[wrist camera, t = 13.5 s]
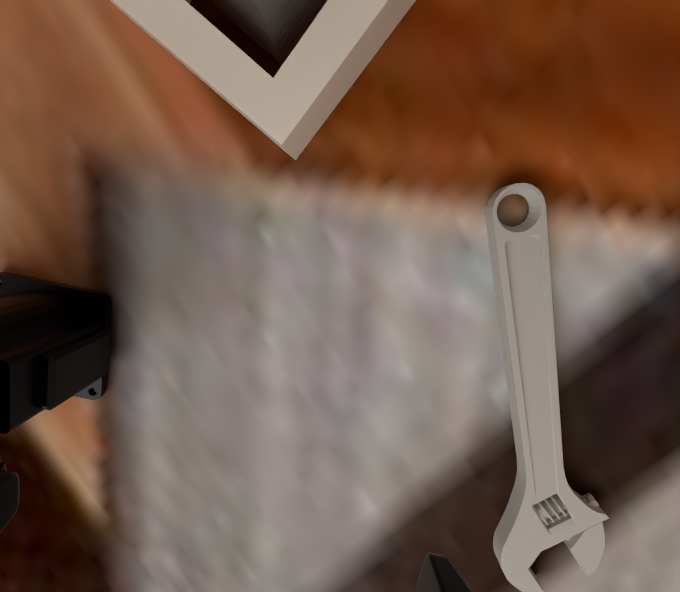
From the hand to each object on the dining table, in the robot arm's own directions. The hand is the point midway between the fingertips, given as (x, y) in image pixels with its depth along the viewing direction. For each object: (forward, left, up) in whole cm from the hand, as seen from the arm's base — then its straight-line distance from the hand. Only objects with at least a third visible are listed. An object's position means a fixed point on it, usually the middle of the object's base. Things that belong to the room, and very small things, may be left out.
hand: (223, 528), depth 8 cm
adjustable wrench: (+15, -1, -14) cm, 20 cm away
